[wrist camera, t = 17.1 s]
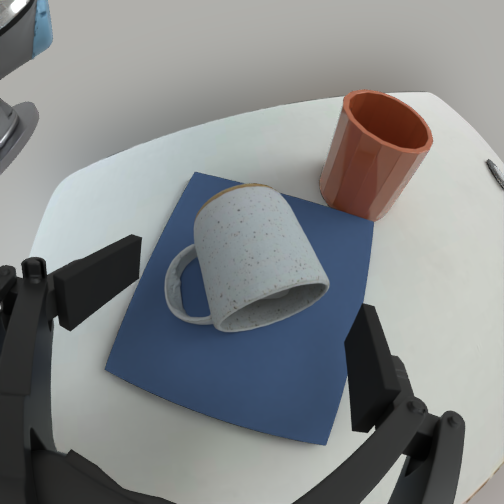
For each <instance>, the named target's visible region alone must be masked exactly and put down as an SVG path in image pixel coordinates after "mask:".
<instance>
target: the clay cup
mask: <svg viewBox="0 0 504 504" xmlns="http://www.w3.org/2000/svg"><path fill="white" fill-rule="evenodd" d="M432 144H433V137H432V133H431V130H430V128H429V127H428V125H427V124H426V122H425V121H424V119H423V118H422V117H421V116H420V115H419V114H418V113H417V112H416V111H415V110H414V109H412V108H411V107H410V106H408V105H407V104H405V103H404V102H402V101H400V100H399V99H397V98H395V97H392V96H390V95H387V94H385V93H382V92H378V91H372V90H357V91H352V92H350V93H349V94H348V95H346V96H345V97H344V99H343V103H342V106H341V110H340V113H339V117H338V120H337V123H336V127H335V130H334V133H333V136H332V140H331V143H330V146H329V149H328V153H327V156H326V159H325V162H324V165H323V168H322V172H321V176H320V180H319V186H320V191H321V194H322V196H323V198H324V200H325V201H326V203H327V204H328V205H329V206H330V207H331V208H333V209H336V210H339V211H342V212H346V213H349V214H352V215H355V216H358V217H361V218H364V219H367V220H370V221H373V222H374V221H377V220H379V219H381V218H382V217H383V216H384V215H385V214H386V213H387V212H388V211H389V209H390V208H391V207H392V205H393V204H394V202H395V201H396V199H397V198H398V197H399V195H400V194H401V192H402V191H403V189H404V188H405V187H406V185H407V184H408V182H409V181H410V179H411V178H412V176H413V175H414V173H415V172H416V170H417V169H418V167H419V166H420V164H421V163H422V161H423V159H424V158H425V156H426V155H427V153H428V152H429V150H430V148H431V146H432Z"/></svg>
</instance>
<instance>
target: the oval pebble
mask: <svg viewBox="0 0 504 504" xmlns="http://www.w3.org/2000/svg"><path fill="white" fill-rule="evenodd" d="M487 163H488V165H489V167H490V169H491V170H492V172H493V173H494V175H495V177H496V178H497V180H498V181H499V183H500V184H501V185H502V186H503V188H504V175H503V173H502V172H501V171H500V170H499V169H498V168H497V166H496V165H495V164H494V163H493V162H492V161H491V160H489V159H488V160H487Z"/></svg>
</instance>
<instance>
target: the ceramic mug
mask: <svg viewBox="0 0 504 504" xmlns="http://www.w3.org/2000/svg"><path fill="white" fill-rule="evenodd" d="M194 243H195V244H192V245H190V246H188V247H186V248H185V249H184V250H182V251H181V252H180V253H179V254H178V255H177V256H176V257H175V258H174V259H173V260H172V262H171V264H170V266H169V268H168V270H167V273H166V277H165V287H164V290H165V298H166V302H167V305H168V307H169V309H170V311H171V312H172V313H173V314H174V315H175V316H176V317H177V318H179V319H181V320H183V321H185V322H189V323H193V324H199V325H209V324H214V327H215V328H216V329H217V330H220V331H223V332H238V331H246V330H252V329H254V328H258V327H262V326H266V325H269V324H272V323H275V322H278V321H281V320H283V319H285V318H288V317H290V316H292V315H294V314H296V313H299V312H301V311H302V310H304V309H306V308H308V307H310V306H311V305H313V304H314V303H315V302H316V301H318V300H319V299H320V298H321V297H323V295H324V294H325V293H326V292H327V291H328V289H329V285H330V284H329V279H328V277H327V275H326V273H325V271H324V270H323V268H322V266H321V264H320V262H319V260H318V258H317V256H316V254H315V252H314V250H313V248H312V246H311V244H310V242H309V241H308V239H307V237H306V235H305V233H304V232H303V230H302V228H301V226H300V224H299V222H298V220H297V218H296V216H295V214H294V212H293V211H292V209H291V207H290V206H289V204H288V203H287V201H286V200H285V199H284V198H283V197H282V196H281V194H280V193H279V192H277V191H276V190H275V189H273V188H272V187H269V186H267V185H262V184H257V183H251V184H242V185H237V186H234V187H231V188H228V189H225V190H223V191H221V192H219V193H217V194H216V195H214V196H213V197H211V198H210V199H209V200H208V201H207V202H206V203H205V204H204V205H203V206H202V207H201V209H200V210H199V211H198V213H197V215H196V218H195V222H194ZM197 256H198V260H199V264H200V268H201V272H202V277H203V282H204V287H205V291H206V296H207V300H208V304H209V309H210V313H211V315H209V316H207V317H190V316H189V315H187V313H186V311H185V310H184V308H183V305H182V298H181V290H180V286H181V281H180V276H181V274H182V272H183V270H184V269H185V267H186V266H187V265H188V264H189V263H190V262H191V261H192V260H193V259H195V258H196V257H197Z"/></svg>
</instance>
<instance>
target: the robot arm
mask: <svg viewBox="0 0 504 504" xmlns="http://www.w3.org/2000/svg"><path fill="white" fill-rule="evenodd" d="M52 40H53V35H52V25H51V18H50V11H49V5H48V0H0V80H1V79H2V78H4V77H5V76H6V75H8V74H9V73H11V72H12V71H14V70H15V69H16V68H18V67H20V66H21V65H23V64H24V63H26V62H28V61H29V60H31V59H33V58H34V57H35V56H37V55H38V54H40V53H41V52H43V51H45V50H46V49H47V48H49V46H50V45H51V43H52ZM18 122H19V116H18V114H17V112H16V111H15V110H14V109H13V108H12V107H11V106H10V105H8V104H7V103H6V102H4V101H3V100H2V99H1V98H0V150H1V149H2V147H3V146H4V145H5V144H6V142H7V141H8V140H9V138H10V137H11V135H12V134H13V132H14V131H15V129H16V127H17V125H18ZM141 242H142V237H139V236H135V235H132V234H131V235H129V236H127V237H125V238H123V239H121V240H119V241H117V242H115V243H113V244H111V245H109V246H107V247H105V248H103V249H101V250H99V251H97V252H95V253H93V254H91V255H89V256H87V257H85V258H83V259H79V260H74V261H73V262H71V263H69V264H68V265H65V266H63V267H62V268H59V269H57V270H56V271H54V272H52V273H50V274H48V275H47V271H46V261H45V260H44V259H42V258H39V257H31V258H28V259H25V260H24V261H23V262H22V263H21V265H22V273H23V278H20V277H17V276H16V269H15V268H14V267H13V266H7V265H5V266H1V267H0V305H1V309H0V504H176V503H173V502H171V501H168V500H166V499H163V498H160V497H155V496H151V495H146V494H142V493H138V492H134V491H130V490H126V489H124V488H122V487H121V486H120V485H118V484H117V483H116V482H115V481H114V480H113V479H111V478H110V477H109V476H108V475H107V474H106V473H105V472H104V471H102V470H101V469H100V468H99V467H98V466H97V465H95V464H94V463H92V462H90V461H89V460H87V459H86V458H84V457H82V456H81V455H79V454H78V453H76V452H75V451H73V450H72V449H71V450H70V451H69V452H68V454H65V453H62V452H58V451H57V450H56V447H55V444H54V440H53V432H52V418H51V357H52V342H53V330H54V321H53V318H55V317H56V316H57V315H58V318H59V324H60V326H62V327H64V328H65V329H67V330H68V331H72V330H73V329H74V328H75V327H77V326H78V325H79V324H80V323H82V322H83V321H84V320H85V319H87V318H88V317H89V316H90V315H92V314H93V313H94V312H95V311H97V310H98V309H99V308H101V307H102V306H103V305H104V304H106V303H107V302H108V301H110V300H111V299H112V298H113V297H115V296H116V295H117V294H119V293H120V292H121V291H123V290H124V289H125V288H127V287H128V286H129V285H131V284H132V283H133V282H135V281H136V280H137V279H139V268H140V254H141ZM344 347H345V355H346V364H347V374H348V384H349V395H350V408H351V423H352V431H356V432H364V433H368V432H369V431H370V430H371V429H372V427H373V426H374V425H375V430H376V431H375V432H374V433H373V434H372V435H371V436H370V437H369V438H368V439H367V440H366V441H365V442H364V443H363V444H362V445H361V446H360V447H359V448H358V449H357V450H356V451H355V452H354V453H353V454H352V455H351V456H350V457H349V458H348V459H346V460H345V461H344V462H343V463H342V464H341V465H340V466H339V467H338V468H336V469H335V470H334V471H333V472H332V473H331V474H330V475H328V476H327V477H326V478H325V479H324V480H322V481H321V482H320V483H319V484H317V485H316V486H315V487H314V488H312V489H311V490H310V491H308V492H307V493H306V494H304V495H303V496H302V497H300V498H299V499H298V500H296V501H295V502H293V503H292V504H360V503H361V501H362V500H363V499H364V498H365V497H366V496H367V495H368V494H369V493H370V492H371V491H372V490H373V488H374V487H375V486H376V485H377V484H378V483H379V482H380V480H381V479H382V478H383V477H384V476H385V474H386V473H387V472H388V471H389V469H390V468H391V467H392V466H393V464H394V463H395V462H396V460H397V459H398V458H399V456H400V455H401V454H404V455H407V457H406V459H405V462H404V465H403V468H402V470H401V473H400V476H399V478H398V481H397V483H396V486H395V488H394V490H393V493H392V495H391V497H390V499H389V502H388V504H453V503H454V499H455V495H456V490H457V485H458V480H459V474H460V468H461V462H462V454H463V446H464V436H465V422H464V420H463V418H462V417H461V416H460V415H459V414H458V413H456V412H454V411H446V412H445V413H444V414H443V415H442V416H441V417H438V416H435V415H432V414H430V413H428V409H427V406H426V405H425V403H424V402H423V401H422V400H420V399H419V398H417V397H414V393H413V390H412V387H411V384H410V381H409V379H408V375H407V373H406V369H405V366H404V364H403V362H402V361H401V360H400V358H399V357H398V356H393V355H391V353H390V350H389V347H388V344H387V341H386V338H385V335H384V332H383V329H382V326H381V323H380V321H379V318H378V315H377V312H376V310H375V307H374V306H371V305H368V304H364V303H362V305H361V307H360V309H359V311H358V314H357V316H356V318H355V320H354V322H353V324H352V327H351V329H350V331H349V333H348V335H347V337H346V339H345V341H344Z"/></svg>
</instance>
